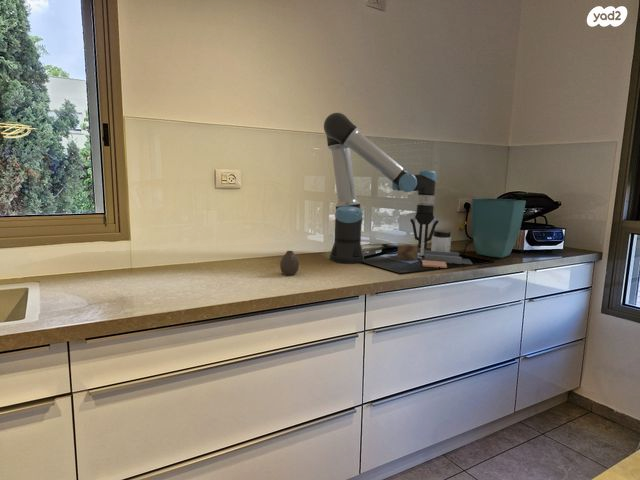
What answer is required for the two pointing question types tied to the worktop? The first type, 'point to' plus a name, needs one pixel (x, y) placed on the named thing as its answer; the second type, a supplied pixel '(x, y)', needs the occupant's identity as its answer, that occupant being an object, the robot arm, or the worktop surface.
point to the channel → (443, 257)
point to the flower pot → (496, 225)
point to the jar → (441, 241)
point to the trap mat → (466, 262)
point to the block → (407, 251)
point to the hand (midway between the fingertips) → (421, 254)
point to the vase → (289, 264)
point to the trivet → (434, 264)
